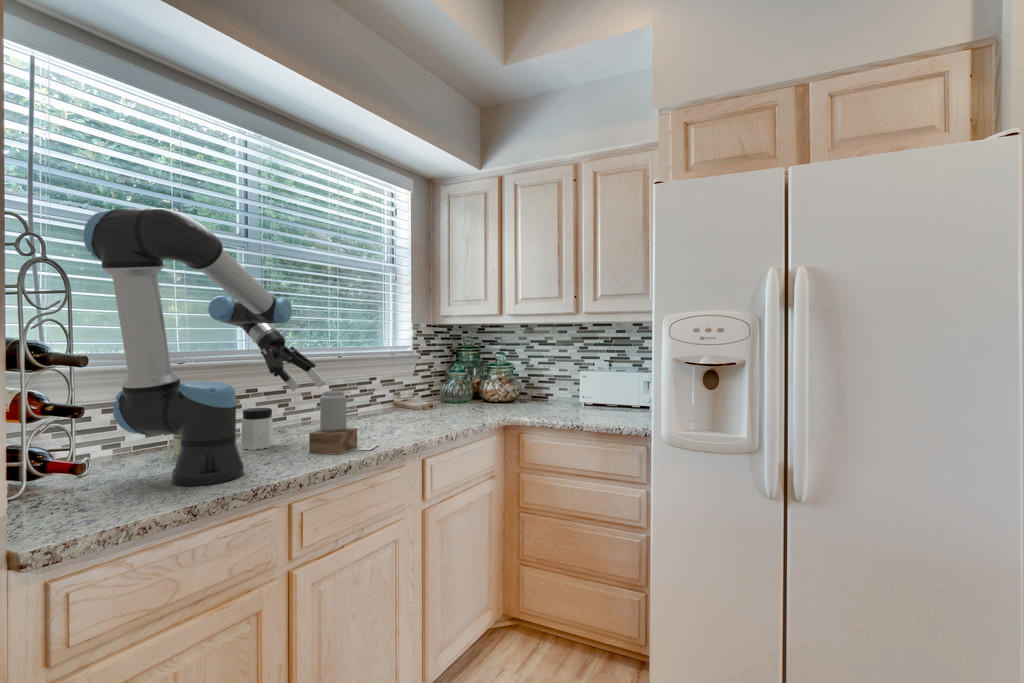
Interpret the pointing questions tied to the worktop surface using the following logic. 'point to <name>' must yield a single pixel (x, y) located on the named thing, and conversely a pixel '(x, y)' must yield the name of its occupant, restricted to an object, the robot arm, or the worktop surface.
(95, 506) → the worktop surface
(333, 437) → the walnut block
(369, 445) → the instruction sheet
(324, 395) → the can
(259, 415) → the jar
